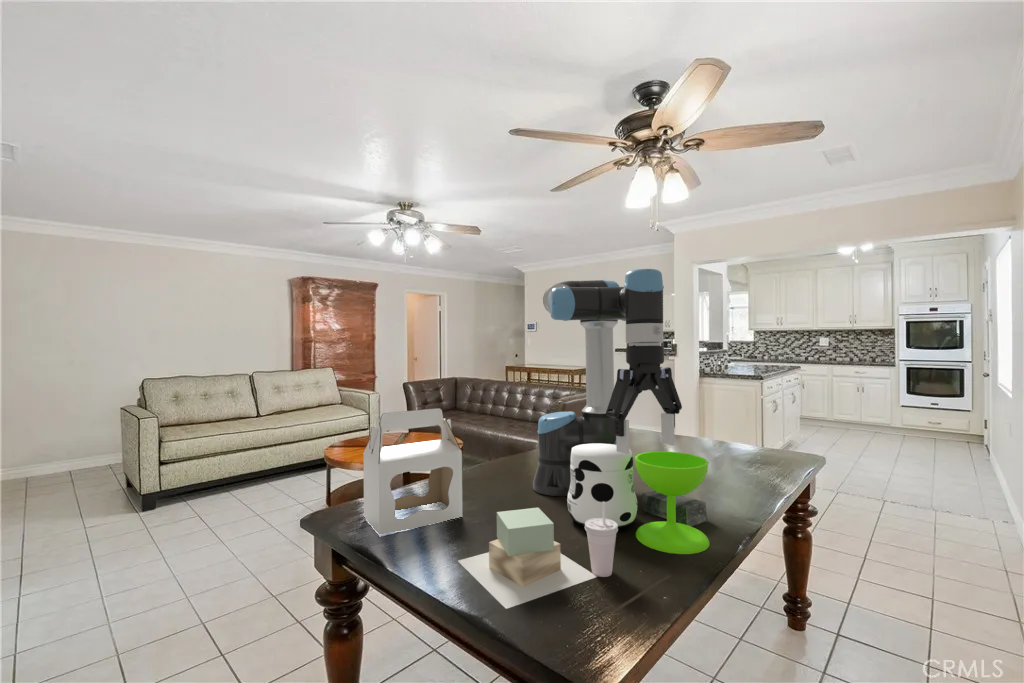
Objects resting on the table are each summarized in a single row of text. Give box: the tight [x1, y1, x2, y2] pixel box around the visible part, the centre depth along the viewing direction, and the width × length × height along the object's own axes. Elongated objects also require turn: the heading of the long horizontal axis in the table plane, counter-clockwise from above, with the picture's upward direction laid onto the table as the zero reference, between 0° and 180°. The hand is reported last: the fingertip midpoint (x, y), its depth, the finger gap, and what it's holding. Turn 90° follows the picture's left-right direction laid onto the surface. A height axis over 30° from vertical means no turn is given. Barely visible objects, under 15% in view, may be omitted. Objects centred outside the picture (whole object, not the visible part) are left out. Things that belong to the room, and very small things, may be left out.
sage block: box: [496, 507, 555, 556], centre depth 89 cm, size 9×9×5 cm
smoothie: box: [584, 501, 619, 578], centre depth 88 cm, size 6×6×14 cm
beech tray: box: [488, 538, 562, 587], centre depth 89 cm, size 10×10×5 cm
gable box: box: [362, 407, 463, 534], centre depth 117 cm, size 22×13×28 cm, turn 123°
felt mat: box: [457, 551, 598, 610], centre depth 89 cm, size 20×20×1 cm
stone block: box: [641, 490, 709, 527], centre depth 117 cm, size 9×14×5 cm, turn 30°
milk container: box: [566, 443, 638, 529], centre depth 114 cm, size 17×17×18 cm
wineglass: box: [634, 450, 711, 555], centre depth 104 cm, size 16×16×18 cm
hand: (646, 448), depth 93 cm, fingers open, 13 cm apart
